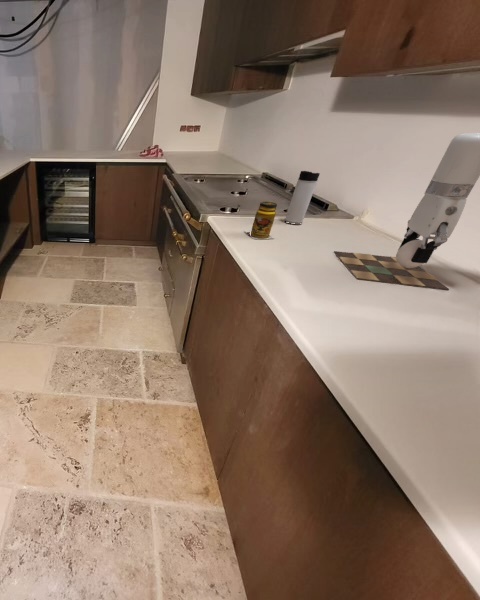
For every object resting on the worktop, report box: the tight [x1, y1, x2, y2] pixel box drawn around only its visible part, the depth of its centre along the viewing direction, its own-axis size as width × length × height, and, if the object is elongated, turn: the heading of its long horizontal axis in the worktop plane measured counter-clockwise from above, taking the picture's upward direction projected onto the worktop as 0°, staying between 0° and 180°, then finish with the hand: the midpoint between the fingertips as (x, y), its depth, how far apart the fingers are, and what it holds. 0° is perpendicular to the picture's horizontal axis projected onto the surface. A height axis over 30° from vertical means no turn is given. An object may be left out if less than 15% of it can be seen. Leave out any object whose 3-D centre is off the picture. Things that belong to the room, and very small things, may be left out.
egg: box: [395, 239, 425, 268], centre depth 87 cm, size 6×6×8 cm
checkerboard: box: [333, 250, 450, 291], centre depth 93 cm, size 20×20×1 cm
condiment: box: [245, 201, 278, 240], centre depth 115 cm, size 7×8×12 cm
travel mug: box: [284, 170, 321, 225], centre depth 125 cm, size 6×7×20 cm
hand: (411, 256), depth 88 cm, fingers closed on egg, 6 cm apart
